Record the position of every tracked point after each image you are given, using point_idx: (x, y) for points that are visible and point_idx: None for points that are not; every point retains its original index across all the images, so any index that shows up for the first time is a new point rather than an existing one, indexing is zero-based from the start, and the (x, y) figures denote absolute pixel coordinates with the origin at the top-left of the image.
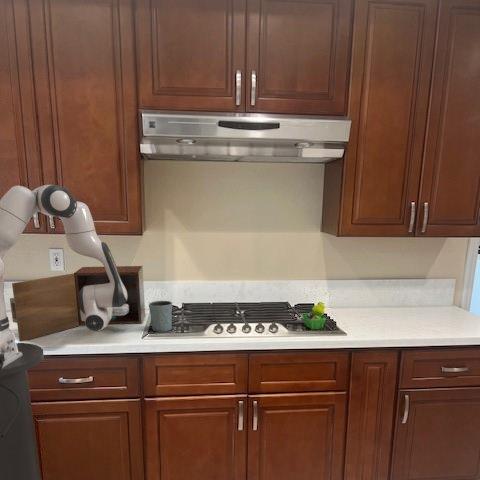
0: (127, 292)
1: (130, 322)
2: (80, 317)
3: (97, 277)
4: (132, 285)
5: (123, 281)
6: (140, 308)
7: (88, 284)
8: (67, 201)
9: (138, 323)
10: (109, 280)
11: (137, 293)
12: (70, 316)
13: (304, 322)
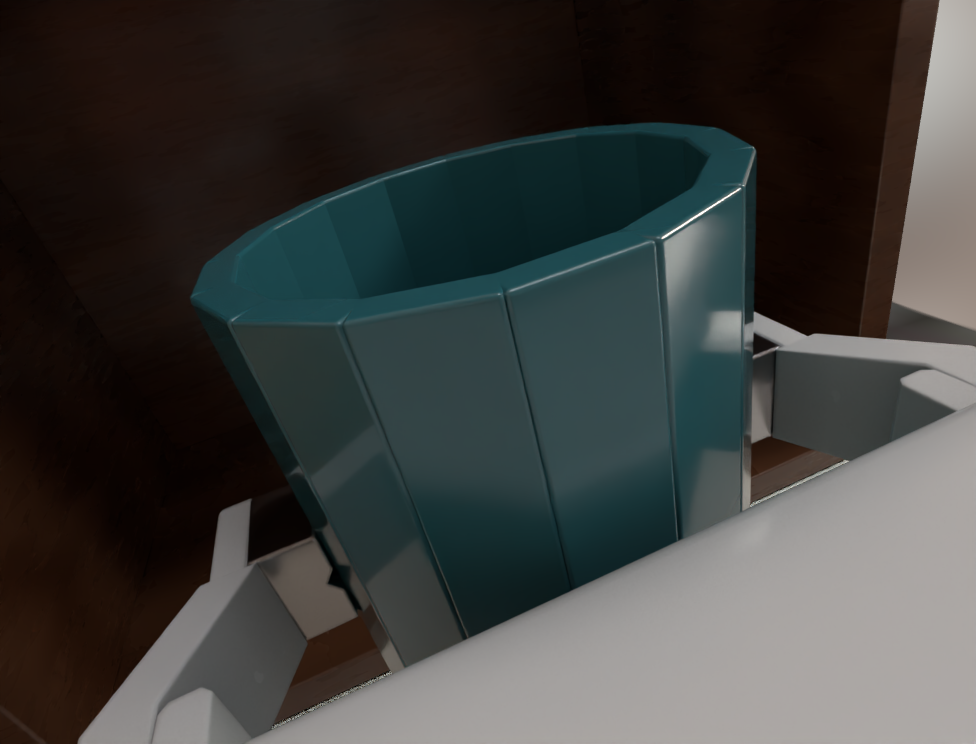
0: (468, 145)
1: (757, 484)
2: (25, 734)
3: (89, 37)
4: (503, 54)
5: (406, 26)
6: (896, 265)
7: (19, 160)
8: None
9: (840, 458)
10: (251, 47)
11: (905, 5)
12: None
13: None
